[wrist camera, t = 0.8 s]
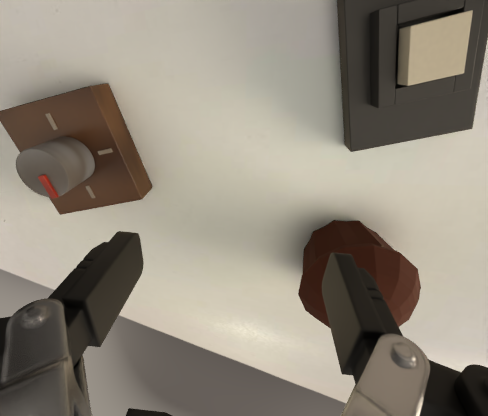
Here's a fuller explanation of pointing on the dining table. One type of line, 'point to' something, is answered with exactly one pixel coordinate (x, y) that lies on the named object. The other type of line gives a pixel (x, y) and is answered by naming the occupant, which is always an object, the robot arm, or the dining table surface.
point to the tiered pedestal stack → (386, 68)
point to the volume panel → (92, 136)
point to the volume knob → (55, 166)
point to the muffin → (366, 256)
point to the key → (433, 49)
